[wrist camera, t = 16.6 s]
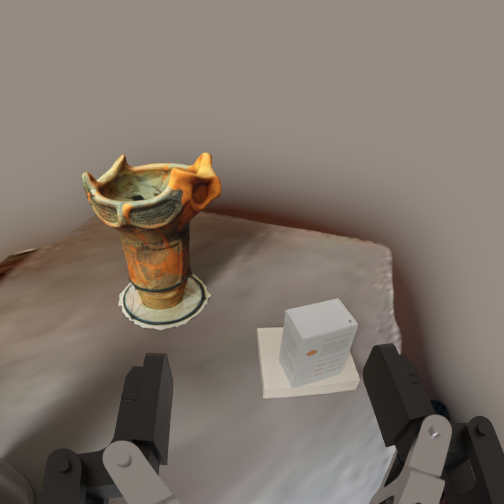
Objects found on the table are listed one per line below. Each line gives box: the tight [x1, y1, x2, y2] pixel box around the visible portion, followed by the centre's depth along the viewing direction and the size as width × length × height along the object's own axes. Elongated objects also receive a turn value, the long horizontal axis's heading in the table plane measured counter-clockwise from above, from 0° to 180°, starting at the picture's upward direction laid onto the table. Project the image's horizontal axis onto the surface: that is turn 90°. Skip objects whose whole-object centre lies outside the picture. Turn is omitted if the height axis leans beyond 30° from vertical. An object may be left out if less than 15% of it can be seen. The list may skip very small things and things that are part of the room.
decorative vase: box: [82, 153, 221, 330], centre depth 53 cm, size 21×23×28 cm
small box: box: [279, 298, 358, 388], centre depth 41 cm, size 8×6×10 cm
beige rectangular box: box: [257, 327, 360, 399], centre depth 47 cm, size 14×12×2 cm
